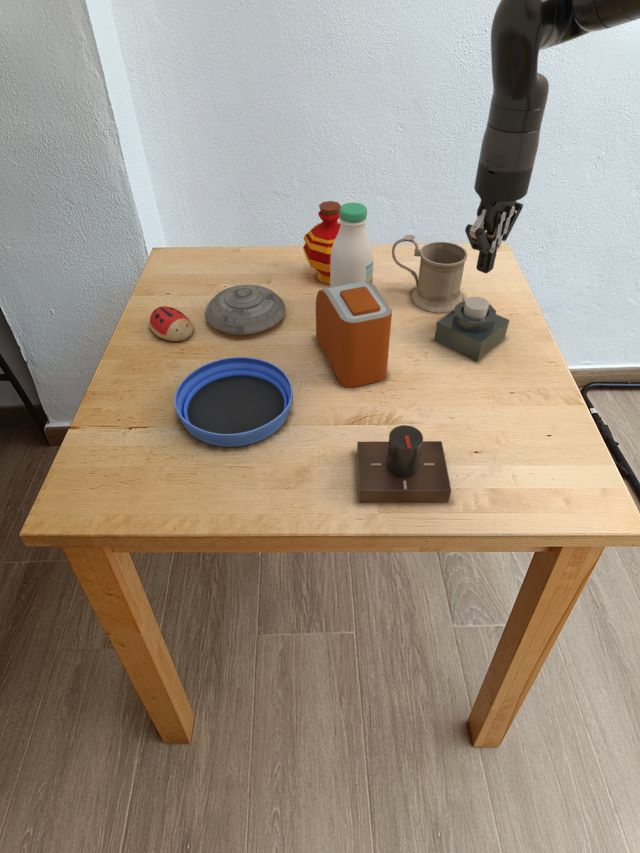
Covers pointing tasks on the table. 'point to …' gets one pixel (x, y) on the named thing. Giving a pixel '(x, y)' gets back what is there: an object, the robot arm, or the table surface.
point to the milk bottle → (351, 248)
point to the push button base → (471, 332)
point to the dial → (404, 450)
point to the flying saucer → (245, 310)
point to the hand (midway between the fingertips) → (484, 270)
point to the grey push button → (476, 307)
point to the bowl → (234, 401)
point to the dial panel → (391, 488)
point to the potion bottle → (323, 240)
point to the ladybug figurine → (170, 324)
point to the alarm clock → (354, 332)
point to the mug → (437, 275)
